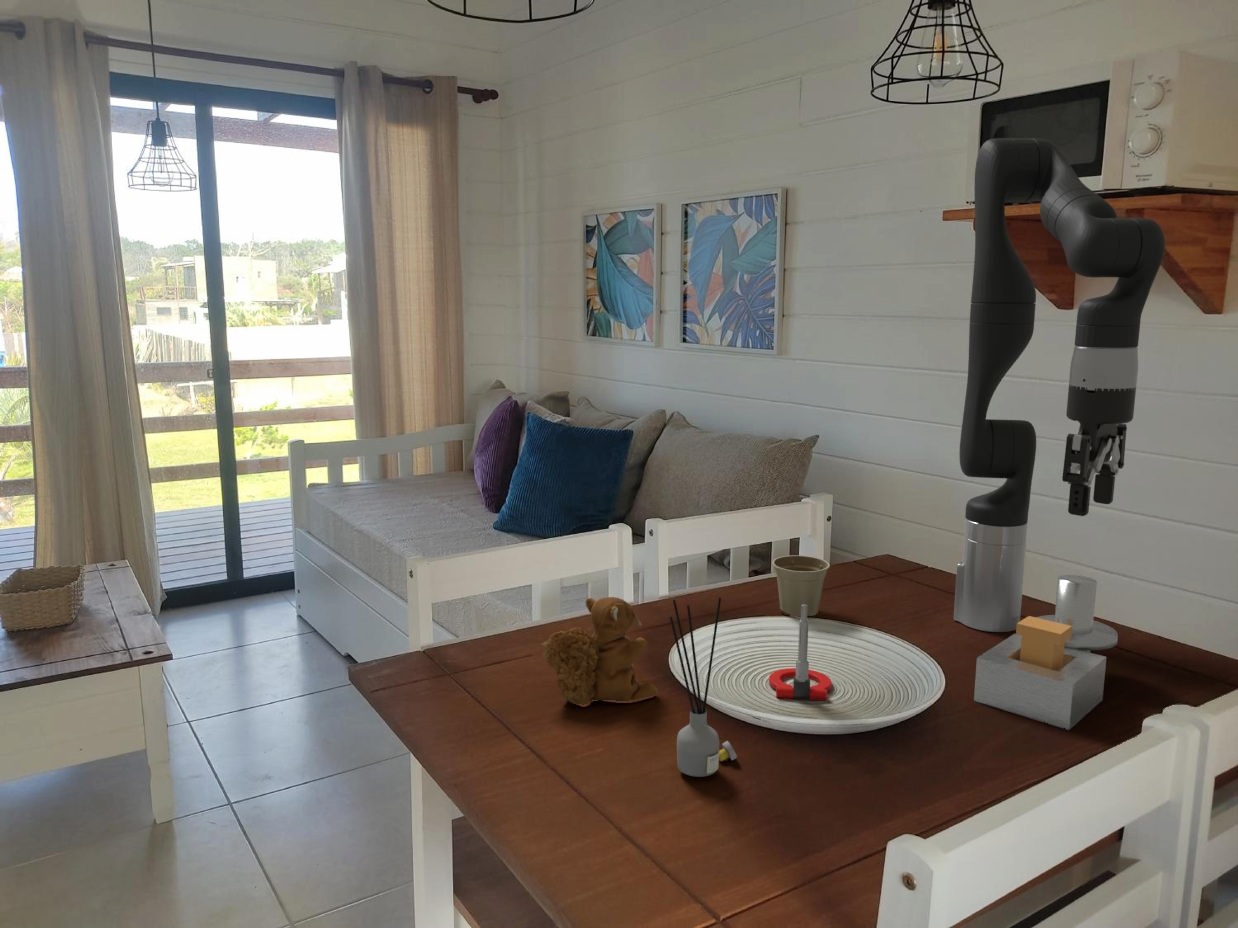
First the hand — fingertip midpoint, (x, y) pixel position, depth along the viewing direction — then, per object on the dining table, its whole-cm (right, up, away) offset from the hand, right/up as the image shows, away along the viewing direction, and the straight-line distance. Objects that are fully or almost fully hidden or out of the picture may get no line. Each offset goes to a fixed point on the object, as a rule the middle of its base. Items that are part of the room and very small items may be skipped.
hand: (1090, 508), depth 119 cm
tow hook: (-36, -25, +8) cm, 44 cm away
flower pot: (-30, -19, +37) cm, 52 cm away
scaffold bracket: (-2, -25, +7) cm, 26 cm away
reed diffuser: (-52, -29, -14) cm, 61 cm away
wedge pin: (-5, -25, +3) cm, 26 cm away
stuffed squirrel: (-63, -26, +5) cm, 68 cm away
